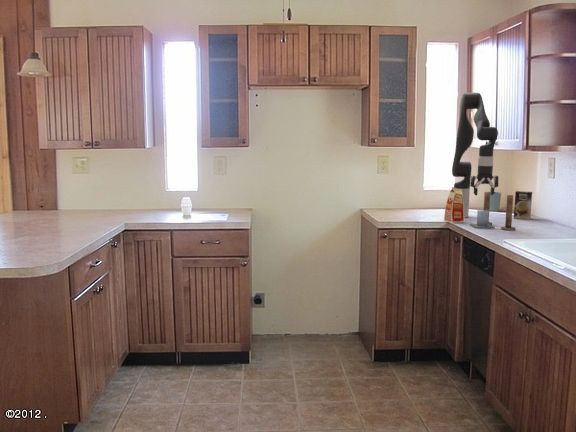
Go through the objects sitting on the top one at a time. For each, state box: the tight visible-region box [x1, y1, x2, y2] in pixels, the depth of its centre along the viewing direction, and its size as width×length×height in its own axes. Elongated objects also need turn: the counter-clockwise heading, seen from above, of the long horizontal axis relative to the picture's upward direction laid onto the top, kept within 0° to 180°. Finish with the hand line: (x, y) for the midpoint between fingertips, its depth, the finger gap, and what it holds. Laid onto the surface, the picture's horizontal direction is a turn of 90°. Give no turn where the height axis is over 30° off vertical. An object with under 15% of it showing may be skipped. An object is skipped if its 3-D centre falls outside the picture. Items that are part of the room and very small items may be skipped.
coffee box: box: [513, 190, 533, 221], centre depth 334 cm, size 9×6×16 cm
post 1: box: [483, 191, 493, 226], centre depth 311 cm, size 7×7×18 cm
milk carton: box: [443, 186, 465, 224], centre depth 322 cm, size 9×9×20 cm
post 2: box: [500, 194, 516, 231], centre depth 296 cm, size 7×7×18 cm
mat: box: [469, 223, 495, 229], centre depth 305 cm, size 10×10×1 cm
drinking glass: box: [489, 191, 502, 213], centre depth 368 cm, size 10×10×12 cm
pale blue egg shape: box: [476, 209, 488, 226], centre depth 304 cm, size 6×6×8 cm
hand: (483, 195), depth 302 cm, fingers open, 8 cm apart
